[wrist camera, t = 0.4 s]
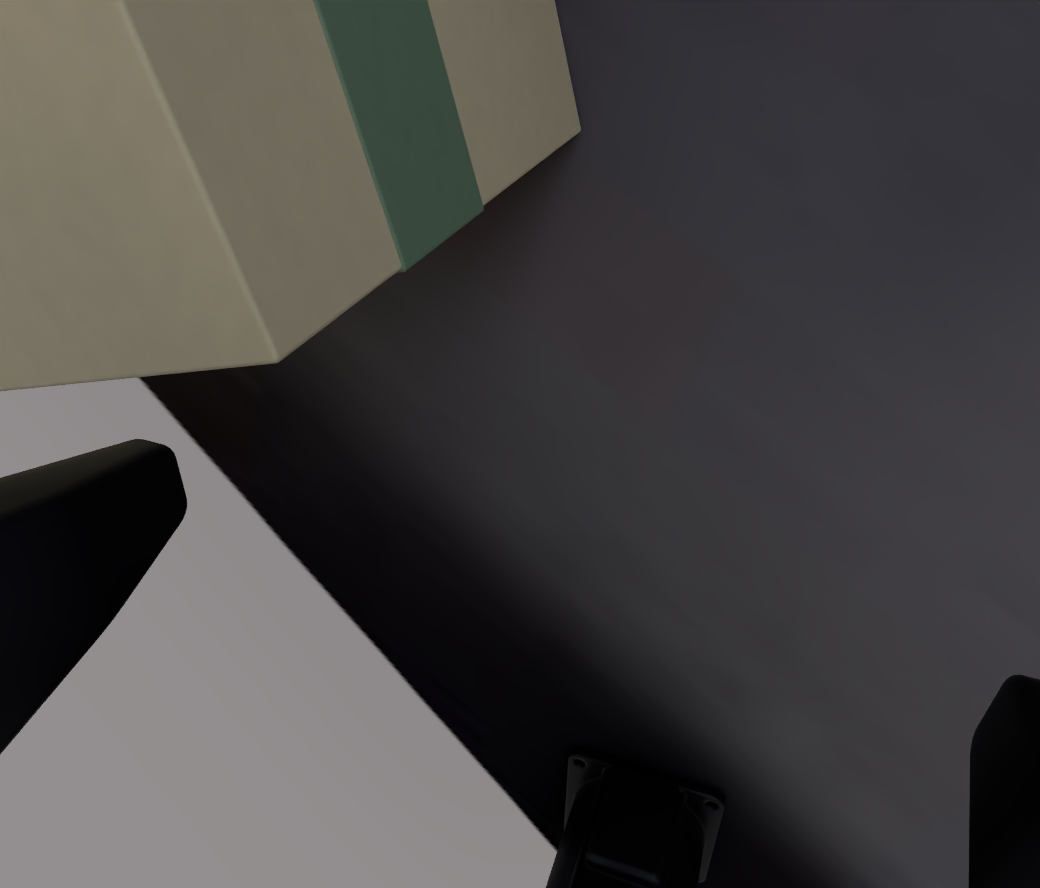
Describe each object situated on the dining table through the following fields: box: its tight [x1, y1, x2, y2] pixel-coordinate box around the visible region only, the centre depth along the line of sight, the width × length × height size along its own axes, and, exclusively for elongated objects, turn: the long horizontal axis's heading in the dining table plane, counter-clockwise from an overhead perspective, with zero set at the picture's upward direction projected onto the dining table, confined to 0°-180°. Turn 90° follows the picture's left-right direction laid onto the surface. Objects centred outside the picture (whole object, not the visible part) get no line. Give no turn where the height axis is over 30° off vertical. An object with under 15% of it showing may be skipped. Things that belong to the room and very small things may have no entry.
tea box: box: [0, 0, 581, 391], centre depth 15 cm, size 5×7×13 cm, turn 107°
